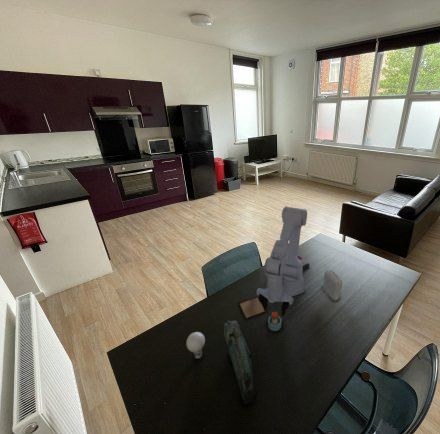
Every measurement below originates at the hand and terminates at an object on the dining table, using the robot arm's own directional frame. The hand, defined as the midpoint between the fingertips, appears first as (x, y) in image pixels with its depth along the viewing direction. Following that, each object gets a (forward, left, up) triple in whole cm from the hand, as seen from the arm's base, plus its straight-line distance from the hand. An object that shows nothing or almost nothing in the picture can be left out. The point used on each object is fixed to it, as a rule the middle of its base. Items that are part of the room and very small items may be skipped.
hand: (274, 311), depth 96 cm
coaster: (+5, -13, -8) cm, 16 cm away
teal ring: (0, 0, -8) cm, 8 cm away
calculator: (-26, -30, -8) cm, 40 cm away
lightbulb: (+31, 0, -8) cm, 32 cm away
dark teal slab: (+19, +13, -8) cm, 24 cm away
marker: (0, 0, -8) cm, 8 cm away
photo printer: (-33, -5, -8) cm, 34 cm away
